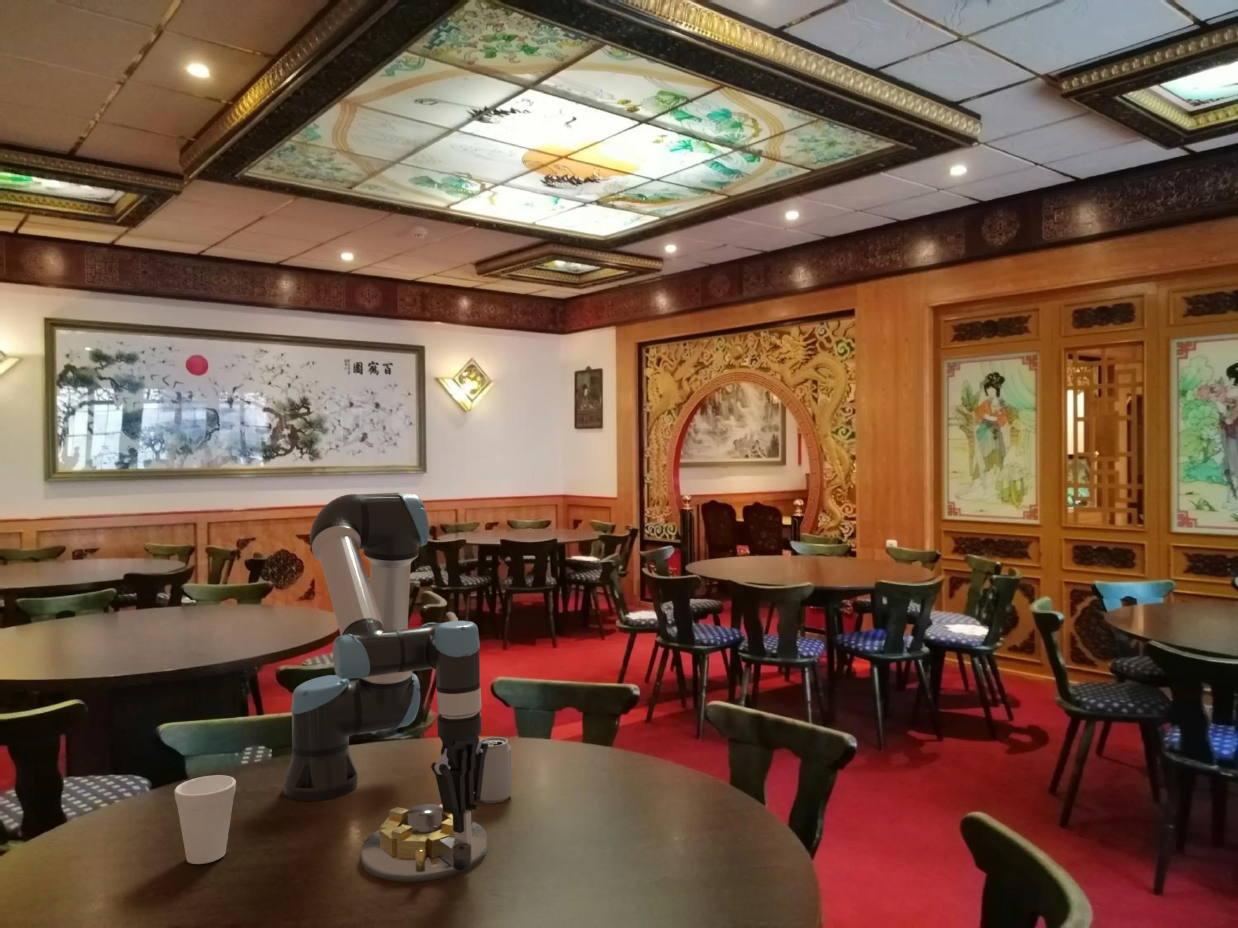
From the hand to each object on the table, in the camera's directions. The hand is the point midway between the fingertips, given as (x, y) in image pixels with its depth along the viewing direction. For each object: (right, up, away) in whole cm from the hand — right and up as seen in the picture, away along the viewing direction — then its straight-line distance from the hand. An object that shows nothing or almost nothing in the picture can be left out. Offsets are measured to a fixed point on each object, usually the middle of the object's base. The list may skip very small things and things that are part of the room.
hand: (463, 847), depth 149 cm
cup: (-47, -4, +5) cm, 47 cm away
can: (+1, -4, +31) cm, 31 cm away
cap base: (-8, -4, +6) cm, 11 cm away
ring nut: (-6, -1, +3) cm, 7 cm away
